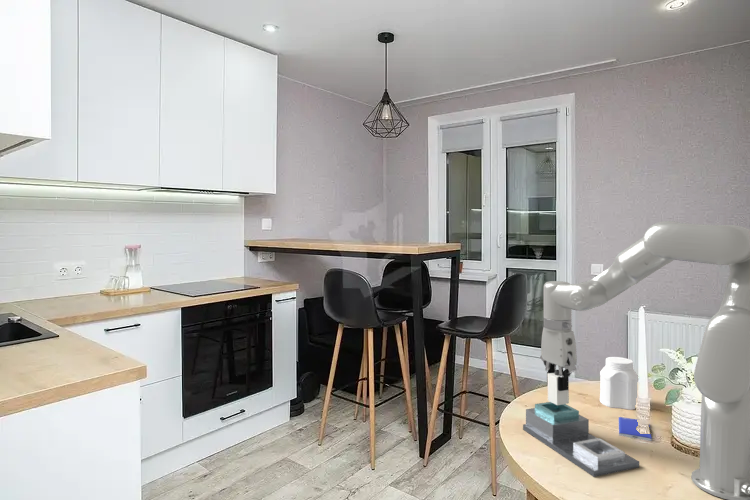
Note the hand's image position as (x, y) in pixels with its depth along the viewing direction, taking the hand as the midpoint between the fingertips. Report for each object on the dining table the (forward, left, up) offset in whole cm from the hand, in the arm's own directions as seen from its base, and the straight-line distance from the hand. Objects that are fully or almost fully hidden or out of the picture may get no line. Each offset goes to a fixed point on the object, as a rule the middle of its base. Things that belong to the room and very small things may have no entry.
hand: (557, 386), depth 134 cm
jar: (+13, -36, -14) cm, 41 cm away
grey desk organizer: (-8, 0, -14) cm, 16 cm away
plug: (0, 0, -4) cm, 4 cm away
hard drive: (-4, -24, -15) cm, 28 cm away
